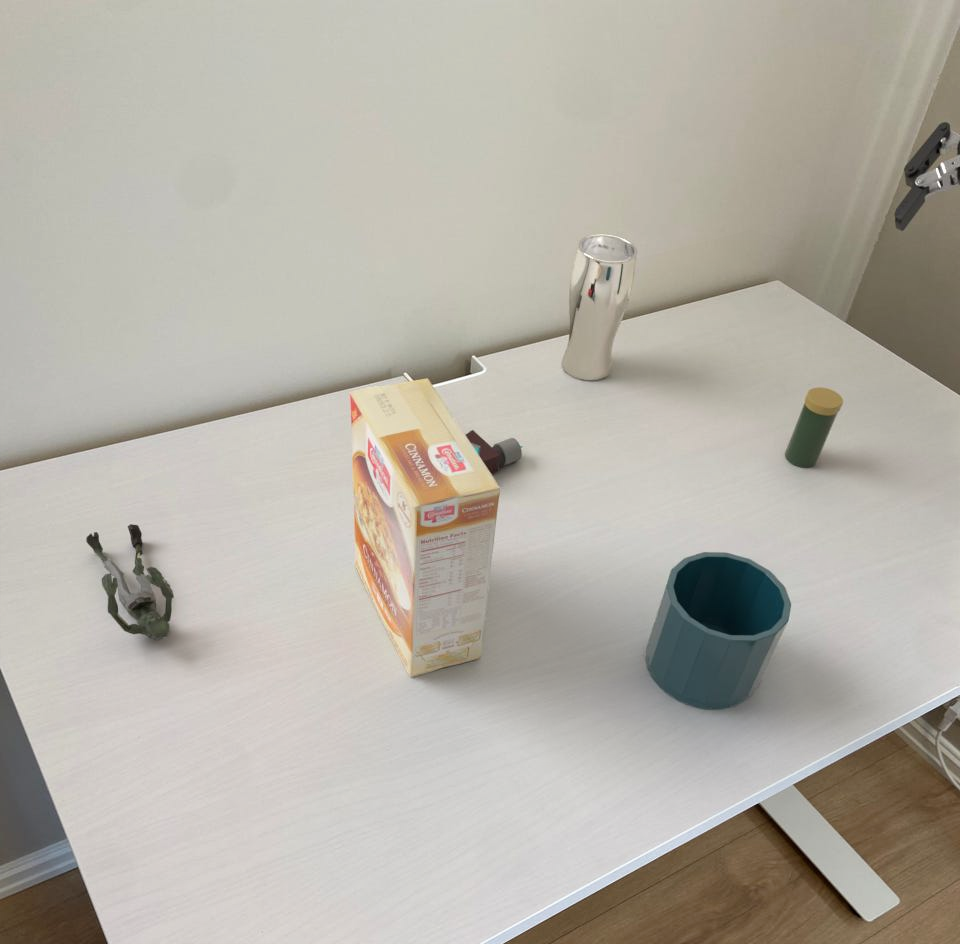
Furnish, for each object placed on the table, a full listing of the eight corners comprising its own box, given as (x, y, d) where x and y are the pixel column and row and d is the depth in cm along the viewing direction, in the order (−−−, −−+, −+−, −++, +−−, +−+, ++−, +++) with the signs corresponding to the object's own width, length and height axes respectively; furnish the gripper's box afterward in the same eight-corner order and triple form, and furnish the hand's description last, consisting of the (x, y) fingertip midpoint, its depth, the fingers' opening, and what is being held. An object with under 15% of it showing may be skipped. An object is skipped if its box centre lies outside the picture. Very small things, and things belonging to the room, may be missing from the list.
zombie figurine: (131, 484, 86) (179, 597, 78) (143, 540, 91) (189, 652, 83) (69, 498, 84) (111, 615, 76) (84, 555, 89) (126, 670, 81)
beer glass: (624, 364, 118) (649, 246, 107) (598, 390, 114) (621, 269, 103) (574, 344, 120) (594, 226, 109) (547, 368, 116) (565, 248, 105)
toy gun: (531, 463, 104) (536, 426, 100) (438, 500, 98) (441, 462, 95) (479, 416, 109) (482, 379, 105) (388, 449, 103) (388, 411, 100)
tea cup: (765, 641, 89) (797, 572, 82) (749, 724, 82) (782, 655, 75) (658, 609, 90) (680, 539, 84) (634, 688, 84) (656, 618, 77)
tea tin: (819, 452, 109) (844, 392, 103) (815, 472, 107) (841, 411, 101) (786, 443, 110) (809, 383, 104) (781, 462, 107) (805, 402, 101)
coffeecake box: (352, 565, 91) (346, 388, 77) (422, 548, 93) (430, 374, 79) (407, 680, 82) (413, 506, 68) (483, 659, 85) (504, 486, 70)
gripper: (977, 51, 95) (870, 196, 98) (1118, 99, 88) (999, 253, 91) (977, 98, 101) (877, 233, 104) (1108, 147, 95) (998, 289, 98)
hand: (934, 242), depth 98 cm, fingers open, 8 cm apart
